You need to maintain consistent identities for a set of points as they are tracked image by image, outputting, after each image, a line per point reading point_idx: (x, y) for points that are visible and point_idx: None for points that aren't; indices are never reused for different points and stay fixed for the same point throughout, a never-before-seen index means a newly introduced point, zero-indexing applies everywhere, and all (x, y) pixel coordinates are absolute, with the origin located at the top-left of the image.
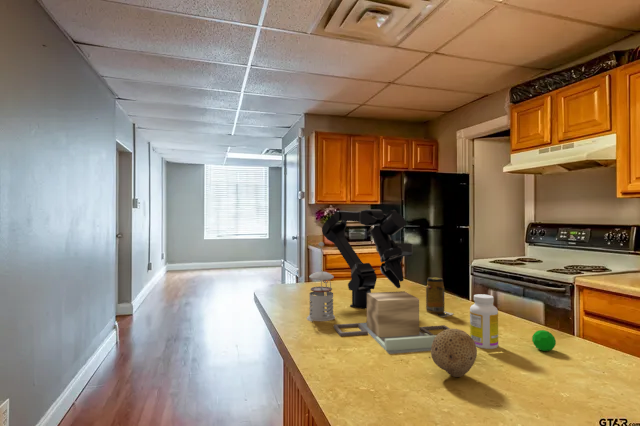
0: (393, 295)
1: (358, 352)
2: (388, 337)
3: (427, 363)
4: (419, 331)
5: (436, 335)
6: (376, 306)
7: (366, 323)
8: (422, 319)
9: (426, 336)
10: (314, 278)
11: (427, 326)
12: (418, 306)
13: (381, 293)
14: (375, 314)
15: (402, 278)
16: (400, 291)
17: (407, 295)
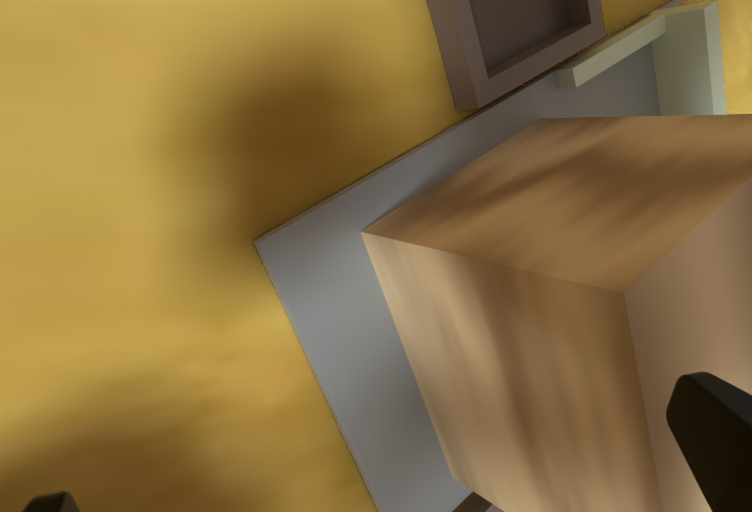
0: (746, 365)
1: None
2: None
3: (742, 108)
4: (495, 111)
5: (709, 31)
6: None
7: (401, 508)
8: (106, 35)
9: (716, 91)
10: None
11: (464, 39)
12: (741, 120)
13: (697, 501)
14: None
15: (739, 402)
16: (634, 339)
17: (749, 230)
